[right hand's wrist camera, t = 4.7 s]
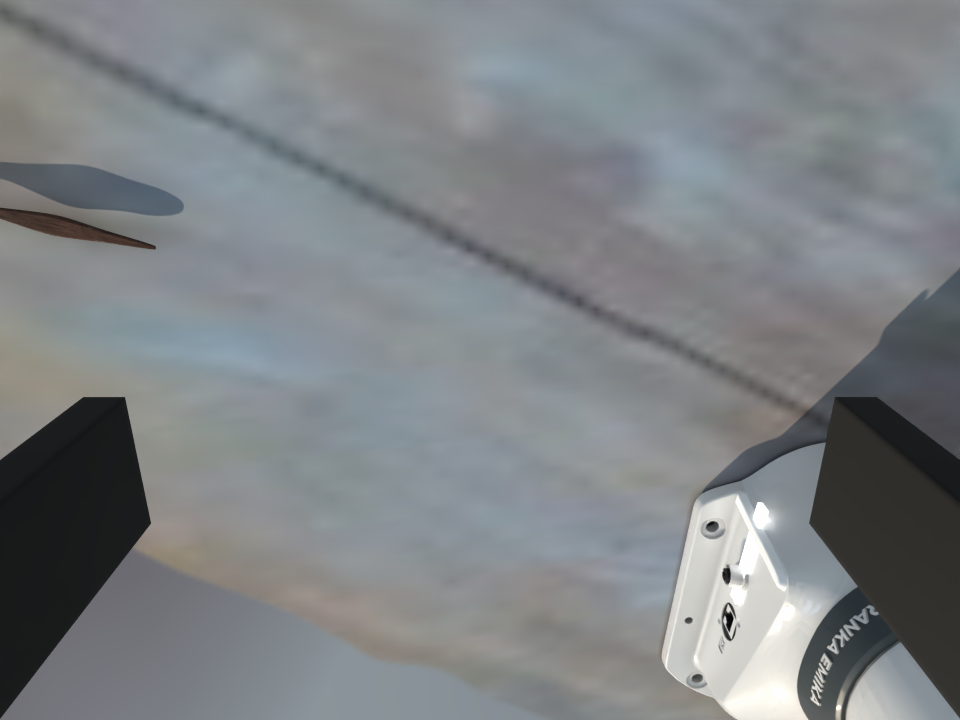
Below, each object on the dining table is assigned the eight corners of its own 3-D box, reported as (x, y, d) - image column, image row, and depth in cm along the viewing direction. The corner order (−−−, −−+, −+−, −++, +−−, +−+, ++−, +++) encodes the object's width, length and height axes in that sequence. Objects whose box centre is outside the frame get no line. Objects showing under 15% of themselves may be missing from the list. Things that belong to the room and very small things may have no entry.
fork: (158, 267, 40) (142, 276, 38) (-127, 204, 38) (-158, 209, 37) (161, 224, 39) (144, 230, 37) (-131, 157, 38) (-163, 161, 36)
